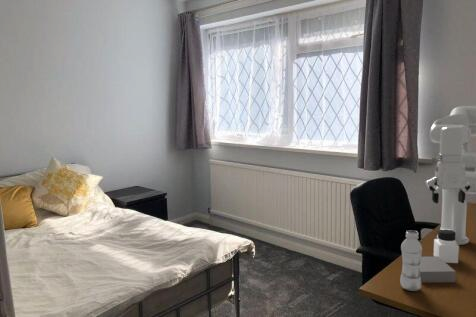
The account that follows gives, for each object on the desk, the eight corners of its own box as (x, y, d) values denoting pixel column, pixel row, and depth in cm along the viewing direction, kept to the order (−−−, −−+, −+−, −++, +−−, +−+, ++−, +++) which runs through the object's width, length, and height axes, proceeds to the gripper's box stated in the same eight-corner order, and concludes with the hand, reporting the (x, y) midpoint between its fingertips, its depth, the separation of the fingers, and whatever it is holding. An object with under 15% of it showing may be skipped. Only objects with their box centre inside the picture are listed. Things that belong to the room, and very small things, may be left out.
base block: (405, 266, 148) (405, 256, 148) (437, 266, 148) (438, 256, 147) (419, 282, 135) (420, 271, 135) (455, 282, 135) (455, 271, 134)
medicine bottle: (458, 263, 150) (460, 233, 148) (438, 262, 151) (439, 233, 149) (452, 256, 156) (453, 227, 155) (433, 255, 158) (434, 227, 156)
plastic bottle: (412, 295, 127) (414, 236, 124) (395, 287, 133) (397, 231, 130) (425, 290, 130) (427, 233, 127) (408, 282, 136) (410, 227, 133)
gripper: (431, 160, 144) (429, 205, 147) (479, 159, 144) (476, 204, 146) (423, 157, 152) (421, 200, 154) (468, 157, 151) (465, 199, 153)
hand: (448, 202), depth 150 cm, fingers open, 9 cm apart
